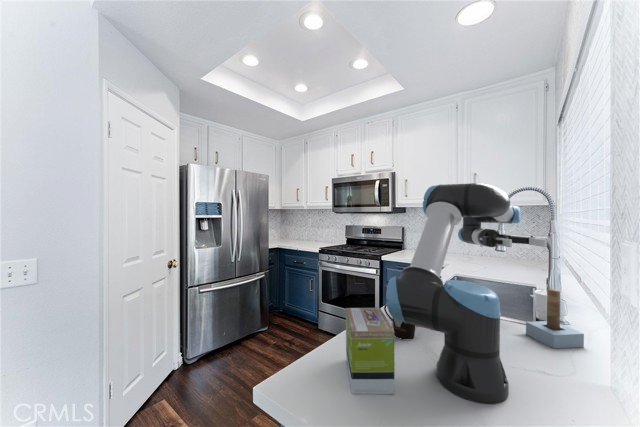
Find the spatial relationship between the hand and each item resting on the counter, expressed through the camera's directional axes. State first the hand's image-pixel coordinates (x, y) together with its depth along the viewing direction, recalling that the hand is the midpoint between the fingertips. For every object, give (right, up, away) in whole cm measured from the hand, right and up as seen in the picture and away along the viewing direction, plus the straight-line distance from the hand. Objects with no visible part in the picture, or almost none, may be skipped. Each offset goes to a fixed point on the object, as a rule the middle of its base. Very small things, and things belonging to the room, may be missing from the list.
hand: (528, 243), depth 98 cm
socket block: (+1, -30, -9) cm, 32 cm away
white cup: (+13, -30, +8) cm, 34 cm away
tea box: (-62, -30, -29) cm, 75 cm away
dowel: (+1, -30, -9) cm, 32 cm away
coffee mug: (-47, -30, -5) cm, 56 cm away
